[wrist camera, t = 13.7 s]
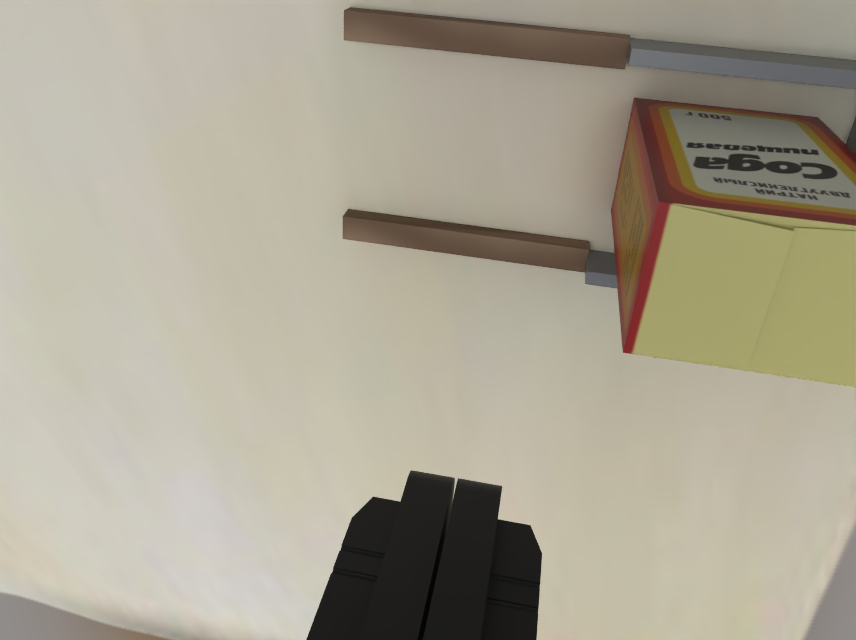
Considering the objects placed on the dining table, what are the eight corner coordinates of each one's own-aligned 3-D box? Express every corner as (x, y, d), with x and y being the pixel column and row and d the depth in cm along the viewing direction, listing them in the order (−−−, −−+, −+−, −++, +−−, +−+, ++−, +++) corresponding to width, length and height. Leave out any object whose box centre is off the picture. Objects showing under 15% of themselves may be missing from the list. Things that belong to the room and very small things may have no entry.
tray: (628, 37, 38) (631, 48, 36) (892, 64, 37) (916, 77, 34) (585, 261, 45) (585, 283, 42) (807, 292, 43) (820, 317, 41)
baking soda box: (817, 117, 39) (944, 240, 25) (779, 231, 42) (872, 394, 28) (634, 97, 40) (659, 205, 26) (611, 210, 43) (623, 357, 29)
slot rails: (350, 7, 40) (344, 10, 39) (629, 34, 38) (630, 38, 37) (348, 231, 47) (342, 238, 46) (584, 263, 45) (584, 272, 44)
